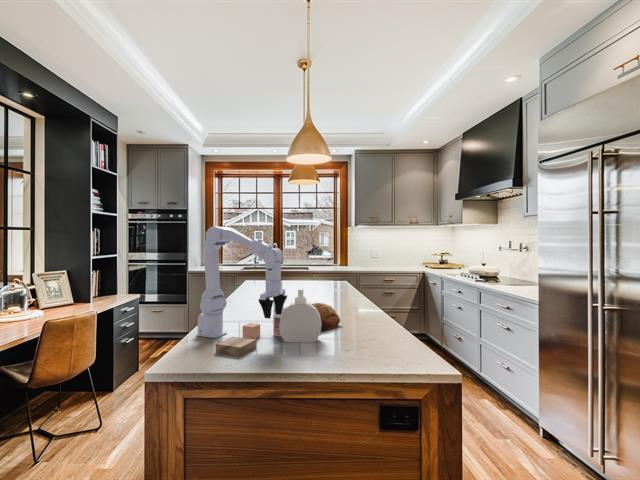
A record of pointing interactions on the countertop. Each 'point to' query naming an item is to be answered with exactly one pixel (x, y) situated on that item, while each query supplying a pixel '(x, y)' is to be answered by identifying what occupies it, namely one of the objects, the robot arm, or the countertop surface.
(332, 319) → the bread
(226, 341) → the walnut base
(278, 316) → the pill bottle
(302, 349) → the countertop surface
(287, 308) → the soap bottle
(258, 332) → the terracotta block
